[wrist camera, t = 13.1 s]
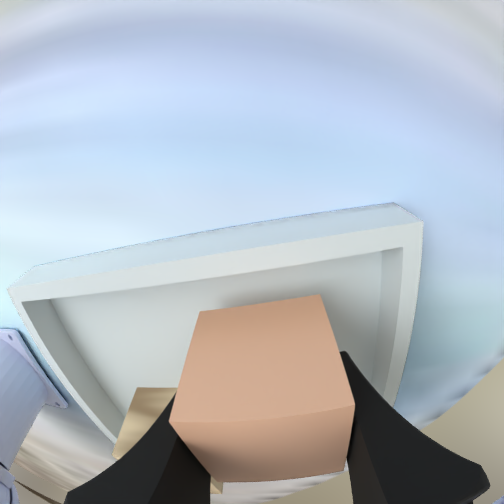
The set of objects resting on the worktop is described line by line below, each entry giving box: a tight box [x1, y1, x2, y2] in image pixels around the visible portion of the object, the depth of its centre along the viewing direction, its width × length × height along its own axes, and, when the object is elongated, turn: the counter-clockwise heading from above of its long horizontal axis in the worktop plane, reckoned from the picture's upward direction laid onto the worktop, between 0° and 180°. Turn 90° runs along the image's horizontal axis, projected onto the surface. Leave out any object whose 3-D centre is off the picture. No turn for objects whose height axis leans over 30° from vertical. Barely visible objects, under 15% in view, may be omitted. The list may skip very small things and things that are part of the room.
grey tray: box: [6, 203, 423, 444], centre depth 13 cm, size 18×16×2 cm
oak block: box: [112, 387, 223, 494], centre depth 13 cm, size 4×4×5 cm
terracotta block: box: [169, 294, 355, 482], centre depth 9 cm, size 4×4×5 cm
